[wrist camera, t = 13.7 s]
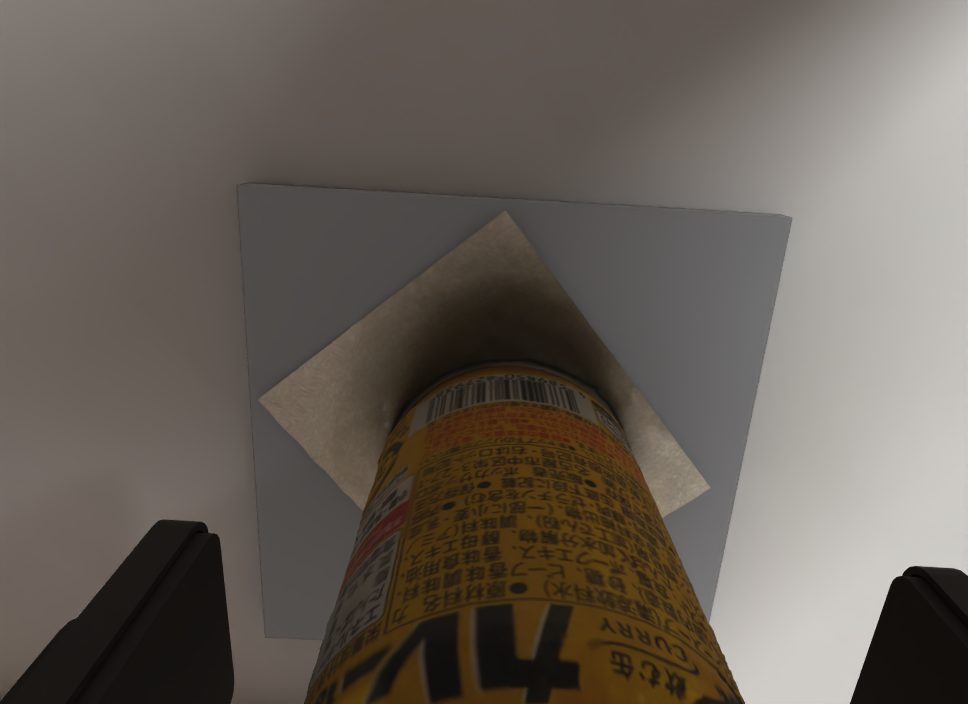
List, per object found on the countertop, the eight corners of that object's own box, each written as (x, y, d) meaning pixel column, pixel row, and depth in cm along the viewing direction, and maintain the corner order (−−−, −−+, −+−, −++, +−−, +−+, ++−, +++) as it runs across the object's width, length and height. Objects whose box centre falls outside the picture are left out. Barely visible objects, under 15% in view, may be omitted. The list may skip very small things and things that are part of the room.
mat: (780, 214, 15) (792, 217, 14) (695, 641, 19) (701, 657, 18) (246, 183, 15) (236, 185, 14) (271, 621, 18) (264, 637, 18)
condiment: (476, 626, 18) (460, 1509, 6) (259, 396, 16) (-344, 1109, 4) (708, 483, 16) (1220, 1291, 5) (505, 207, 14) (588, 524, 3)
